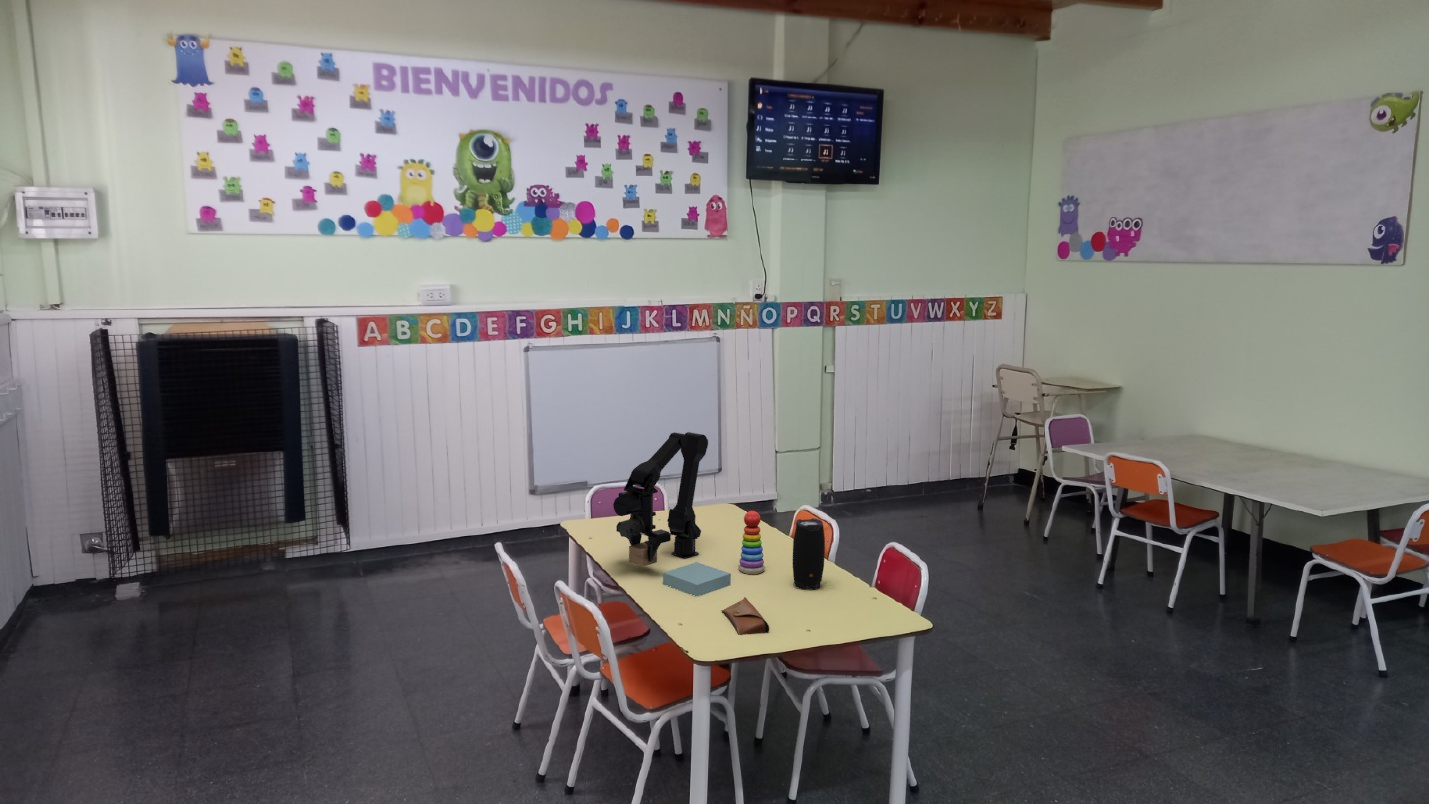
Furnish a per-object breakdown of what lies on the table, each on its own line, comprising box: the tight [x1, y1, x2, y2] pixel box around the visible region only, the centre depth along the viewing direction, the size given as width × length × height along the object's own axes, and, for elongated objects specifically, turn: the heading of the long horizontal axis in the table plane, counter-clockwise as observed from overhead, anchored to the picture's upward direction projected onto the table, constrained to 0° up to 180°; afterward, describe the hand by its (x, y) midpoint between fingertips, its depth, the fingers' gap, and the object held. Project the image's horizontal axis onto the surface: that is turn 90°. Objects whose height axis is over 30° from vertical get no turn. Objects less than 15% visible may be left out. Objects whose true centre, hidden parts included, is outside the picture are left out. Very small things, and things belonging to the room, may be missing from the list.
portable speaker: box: [792, 518, 826, 590], centre depth 278 cm, size 9×9×20 cm
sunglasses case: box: [720, 596, 770, 636], centre depth 251 cm, size 18×7×7 cm
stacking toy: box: [738, 510, 766, 575], centre depth 290 cm, size 8×8×19 cm
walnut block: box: [628, 541, 658, 568], centre depth 289 cm, size 6×6×5 cm
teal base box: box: [662, 561, 732, 597], centre depth 278 cm, size 14×14×4 cm
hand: (643, 558), depth 289 cm, fingers closed on walnut block, 6 cm apart
